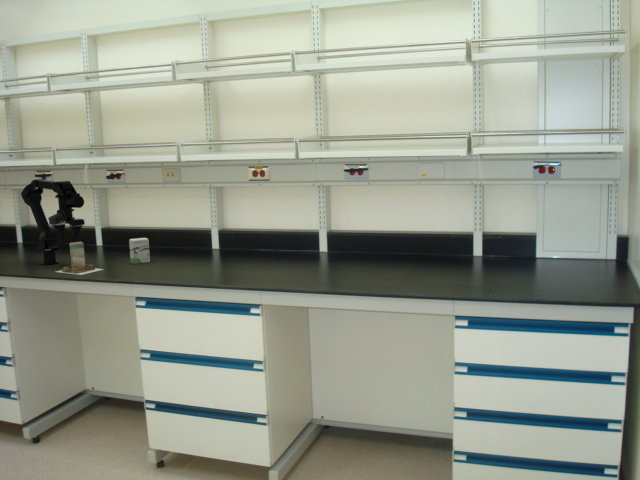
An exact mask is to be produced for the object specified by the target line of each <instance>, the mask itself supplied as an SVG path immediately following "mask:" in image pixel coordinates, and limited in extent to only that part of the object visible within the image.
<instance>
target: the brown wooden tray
mask: <svg viewBox="0 0 640 480" xmlns="http://www.w3.org/2000/svg"><path fill="white" fill-rule="evenodd" d="M95 266H96V265H95V264H86V263H85V267H82V268H78V269H75V268H72V265H68V266H63V267H61V270H62V272H67V273H66V274H69V273H75V274H74V275H77V274H78V273H82V272H86V271H91V270H95V268H96V267H95Z"/></svg>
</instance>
